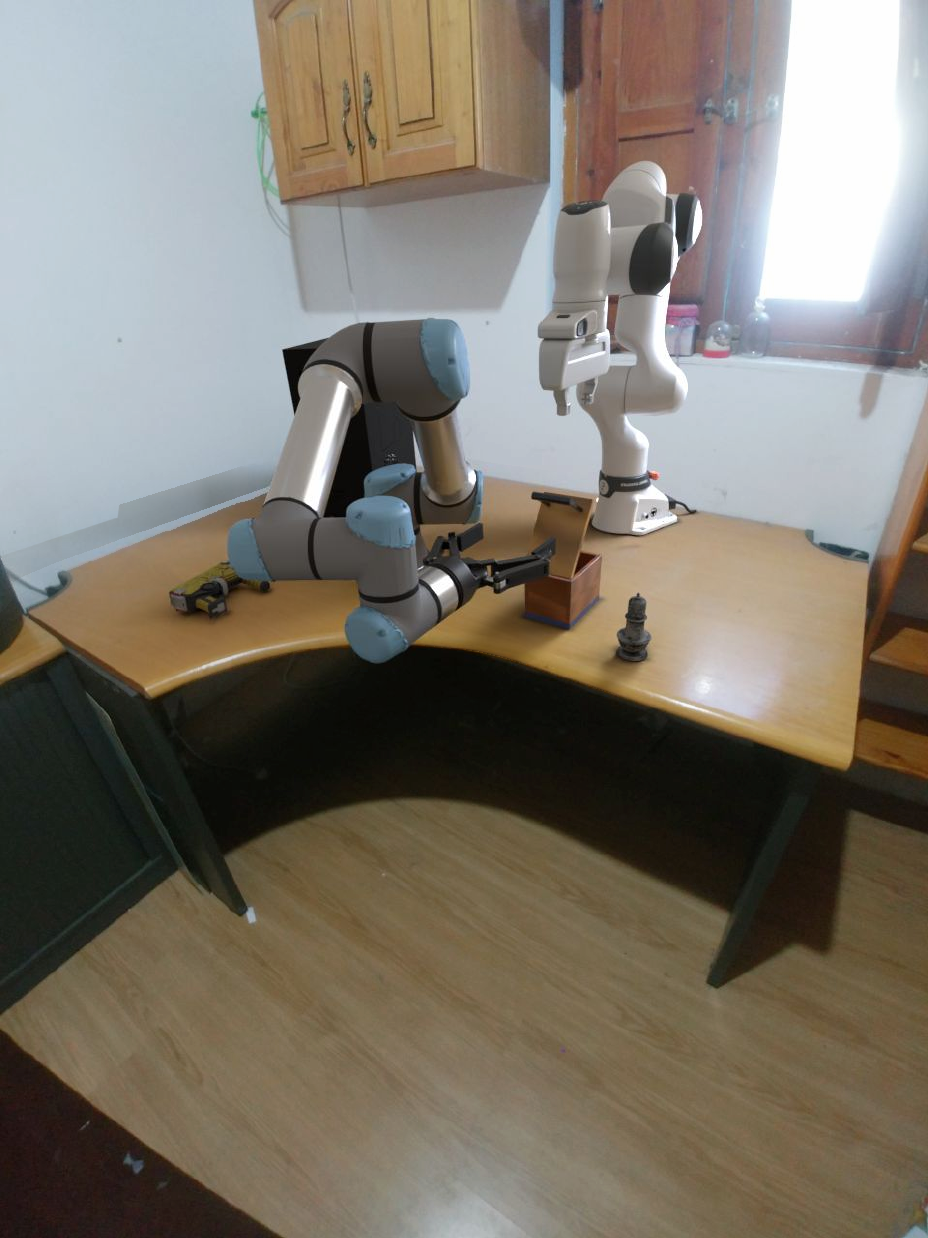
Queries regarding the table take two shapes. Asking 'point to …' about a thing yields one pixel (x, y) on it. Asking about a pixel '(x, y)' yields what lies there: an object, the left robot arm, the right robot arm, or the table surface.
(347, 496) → the black computer case
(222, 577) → the toy gun
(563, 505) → the lid
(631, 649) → the grey chess piece
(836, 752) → the table surface
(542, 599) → the chest
